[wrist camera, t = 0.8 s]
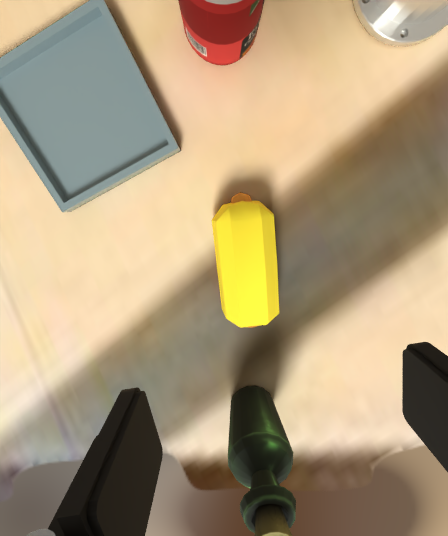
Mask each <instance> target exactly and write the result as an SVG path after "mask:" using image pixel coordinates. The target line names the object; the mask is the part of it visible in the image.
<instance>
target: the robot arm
mask: <svg viewBox="0 0 448 536" xmlns="http://www.w3.org/2000/svg"><path fill="white" fill-rule="evenodd" d="M353 4H354V8H355V11H356V14H357V16H358V18H359V20H360V22H361V24H362V25H363V26H364V28H365V29H366V30H367V32H368V33H369V34H371V35H372V36H373V37H374V38H375V39H377V40H379V41H381V42H382V43H384V44H388V45H392V46H404V47H406V46H410V45H415V44H418V43H420V42H423V41H425V40H427V39H429V38H430V37H432V36H433V35H435V34H436V33H438V32H439V31H440V30H441V29H443V28H444V27H445V26H446V25H448V0H353ZM403 415H404V417H405V419H406V421H407V423H408V424H409V425H410V426H411V428H412V429H413V430H414V431H415V433H416V434H417V435H418V436H419V438H420V439H421V440H422V441H423V442H424V444H425V445H426V446H427V447H428V449H429V450H430V451H431V452H432V453H433V455H434V456H435V457H436V458H437V460H438V461H439V462H440V463H441V465H442V466H443V467H444V468H445V469H446V471H447V472H448V356H447V355H445V354H444V353H443V352H441V351H440V350H438V349H437V348H436V347H434V346H433V345H431V344H430V343H428V342H421V343H415V344H409V345H408V346H407V348H406V349H405V350H404V351H403ZM161 461H162V445H161V442H160V439H159V436H158V432H157V429H156V426H155V423H154V419H153V416H152V413H151V410H150V406H149V403H148V400H147V397H146V394H145V392H144V391H140V389H139V388H131V389H125V390H122V391H121V392H120V394H119V396H118V398H117V400H116V402H115V404H114V406H113V408H112V410H111V412H110V414H109V415H108V417H107V419H106V421H105V423H104V425H103V427H102V429H101V431H100V433H99V435H98V436H96V438H95V439H94V441H93V443H92V445H91V447H90V448H89V450H88V452H87V454H86V456H85V458H84V460H83V462H82V464H81V466H80V468H79V470H78V472H77V474H76V476H75V477H74V479H73V482H72V483H71V485H70V487H69V490H68V491H67V493H66V495H65V497H64V499H63V501H62V503H61V505H60V506H59V509H58V510H57V512H56V514H55V516H54V518H53V520H52V522H51V524H50V526H49V528H48V529H40V530H37V531H34V532H32V533H29V534H28V535H26V536H145V532H146V528H147V524H148V519H149V515H150V510H151V506H152V502H153V497H154V493H155V488H156V484H157V479H158V475H159V470H160V465H161Z"/></svg>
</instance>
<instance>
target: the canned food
mask: <svg viewBox="0 0 448 536" xmlns="http://www.w3.org/2000/svg"><path fill="white" fill-rule="evenodd" d="M263 4H264V0H179V5H180V10H181V15H182V19H183V24H184V29H185V33H186V36H187V39H188V41H189V43H190V45H191V46H192V48H193V49H194V50H195V51H196V53H197V54H198V55H199V56H200V57H202V58H203V59H204V60H206V61H208V62H210V63H212V64H216V65H228V64H232V63H234V62H236V61H238V60H239V59H241V58H242V57H243V56H244V55H245V54H246V53H247V52H248V51H249V49H250V48H251V46H252V45H253V43H254V40H255V37H256V34H257V30H258V25H259V21H260V17H261V13H262V8H263Z"/></svg>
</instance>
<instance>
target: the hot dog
mask: <svg viewBox="0 0 448 536" xmlns="http://www.w3.org/2000/svg"><path fill="white" fill-rule="evenodd" d="M212 226H213V235H214V244H215V253H216V262H217V271H218V279H219V288H220V297H221V305H222V310H223V312H224V314H225V316H226V319H228V320H229V321H231V322H233V323H234V324H236V325H237V326H239V327H256V326H258V325H267V324H268V323H269V322H270V321H271V320H272V319H273V318H275V317H276V316H277V315H278V314H279V297H278V270H277V255H276V240H275V226H274V215H273V213H272V212H271V211H270V210H269V209H268V208H267V207H265V206H264V205H263V204H262V203H261V202H260V201H252V200H251V198H250V195H247V194H244V193H241V192H240V193H238V194H236V195H235V196H233V197H232V199H231V203H228V204H224V205H222V206H221V208H220V209H219V211H218V212H217V213H216V215H215V216H214V218H213V219H212Z"/></svg>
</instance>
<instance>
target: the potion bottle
mask: <svg viewBox="0 0 448 536" xmlns="http://www.w3.org/2000/svg"><path fill="white" fill-rule="evenodd" d="M292 464H293V451H292V448H291V446H290V443H289V441H288V438H287V436H286V433H285V430H284V428H283V425H282V423H281V420H280V418H279V415H278V413H277V410H276V407H275V405H274V402H273V400H272V398H271V396H270V394H269V393H268V392H267V391H266V390H265V389H263V388H260V387H257V386H247V387H245V388H242V389H240V390H239V391H238V392H237V393H235V394H234V396H233V398H232V400H231V411H230V428H229V446H228V466H229V468H230V470H231V471H232V473H233V475H234V476H235V478H236V479H237V481H238V482H240V483H241V484H243V485H244V486H246V487H249V488H250V491H249V492H248V493H246V494H245V495H244V497H243V499H242V501H241V503H240V512H241V514H242V517H243V520H244V522H245V524H246V526H247V527H248V529H249V530H251V531H252V532H254V533H255V536H292V534H291V532H290V529H289V528H291V526H292V525H293V523H294V521H295V509H296V500H295V498H294V496H293V494H292V493H291V492H290V491H288V490H287V489H286V488H284V487H281V486H280V485H279V484H280V483H281V482H282V481H284V480H285V479H286V478H287V476H288V474H289V473H290V471H291V468H292Z"/></svg>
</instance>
